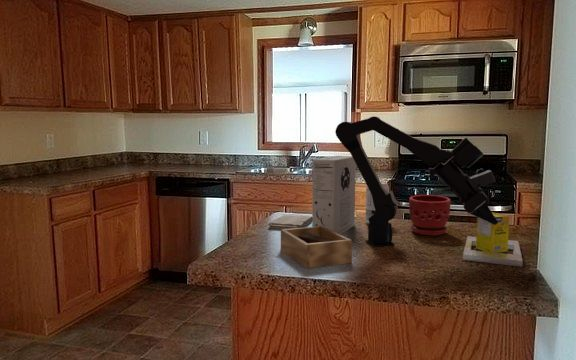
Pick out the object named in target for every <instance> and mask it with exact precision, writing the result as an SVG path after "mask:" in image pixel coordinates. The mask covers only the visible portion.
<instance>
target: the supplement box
mask: <svg viewBox="0 0 576 360" xmlns="http://www.w3.org/2000/svg"><path fill="white" fill-rule="evenodd" d="M491 212H492V214H493V215H494V217H495V218H496V220H497V221H498V223H497V224H496V225H494V224H492V223H490V222H488V221H485V220H483V219H481V218H479V217H476V235H475V237H476V246H475V251H485V252H494V253H504V254H508V250H509V249H508V240H509V231H510V229H509V228H510V215H506V214H501V213H499V212H498V213H497V212H493V211H491Z"/></svg>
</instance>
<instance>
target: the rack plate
mask: <svg viewBox="0 0 576 360" xmlns="http://www.w3.org/2000/svg"><path fill="white" fill-rule="evenodd" d="M465 241H466V242H465V246H464V249H463V255H462V261H468V262H477V263H478V262H479V263H487V264H494V265H495V264H497V265H503V266H504V265H505V266H511V267H512V266H514V267H523V262H524V261H523V257H522V256H523V255H522V251H521V247H520V243H519V241H518V240H511V239H508V250H512V252H513V254H512V253H507V254H504V253H494V252H485V251H476V249H475V250H474V249H472V247H476V236H470V235H469V236H467V237H466V240H465Z"/></svg>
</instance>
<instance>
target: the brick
mask: <svg viewBox="0 0 576 360" xmlns="http://www.w3.org/2000/svg"><path fill="white" fill-rule="evenodd" d="M299 239H301V240H303V241H305V242H306V243H308V244H309V243H319V242H329V241H332V240H330V239H326V238H322V237H318V236H315V235H311V234H305V235H301V236H299Z"/></svg>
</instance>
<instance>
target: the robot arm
mask: <svg viewBox="0 0 576 360" xmlns="http://www.w3.org/2000/svg"><path fill="white" fill-rule="evenodd" d="M371 131H374V132H375V133H378V134H379V135H382V136H383V137H385V138H387V139H388V140H390V141H392V142H394V143H395V144H396V145H397V144H398V145H399V146H401V147H403V148H405V149H406V150H408V151H409V152H410V153H412V155H414V156H415V157H416V158H417V159H418V160H420V161H421V162H422V163H424V164H425V165H426V166H427V165H428V166H434V165H436V166H435V167H433V168H432V167H429V168H428V171H429V175H428V177H429V179H432V178H434V176H437V178H439V180H441V181H442V182H443V183H444V185H445V186H446V187H448V189H449V190H450V191H451V193H453V194H454V195H455V196H456V197H457V198H458V199H459V201H460V202H461V203H462V204H463V205H462V206H463V209H464V210H465V211H466V212H467V213H468V214H470V215H472V216H474V217H476V218H477V217H479V218H481V219H483V220H485V221H488V222H490V223H492V224H494V225H496V224H497V223H498V221H497V220H496V218H495V217H494V215H493V214H492V212H493V211H492V210H491V209H490V207H489V202H490V201H489V197H488V196H487V195H486V194H485V192H484V191H483V189H482V188H481V187H483V186H486V185H489V184H494V183H496V182H497V181H496V179H495V176H494V174H493V172H492V170H490V169H488V170H485V169H483V168H480V169H477V170H476V174H474V175H472V176H469V175H468V174H466V173H464V171H462V169H463V168H471V166H472V165H474V164H475V162H478V160H479V159H480V158H482V157H483V156H484V153H483V152H482V150H480V148H478V147H477V146H476V144H475V145H474V144H473V143H472V142H471V141H470V140H469V139H468V138H467V137H464V138H463V139H462V140H461V141H460V142H459V143H458V145H456V146H455V147H454V148H453V149H451V150H449V149H442V148H440V147H439V146H438V145H436V144H433V143H431V142H428V141H425V140H421V139H418V138H415V137H413V136H412V135H409V134H408V133H406V132H404V131H402V130H400V129H399V128H396V127H395V126H393V125H391V124H390V123H388V122H386V121H384V120H382V119H381V118H380V117H379V116H370V117H369V118H364V119H362V120H357V121H354V122H351V121H342V122H340V123H338V125H337V126H336V128H335V131H334V133H335V136H336V138H337V139H338V140H339V141H340V143H341V145H342V146H343V147H344V148H345V149H346V150H347V151H348V153H350V156H352V157H353V159H354V161H355V163H356V166H357V167H356V168H357V169H358V171H359V173H360V175H361V176H362V178H363V181H364V183H365V185H366V186H368V188H369V190H370V192H371V195H372V199H373V204H374V207H375V212H374V213H373V214H372V215H371V216H370V218H369V223H368V224H367V229H368V230H367V233H368V234H367V239H365V241H364V242H366V243H368V244H370V245H372V246H374V247H383V246H384V247H385V246H391V245H392V246H393V245H395V242H393V232H394V231H393V227H392V223H391V222H390V221H391V220H393V219H394V218H395V217H396V215H397V212H398V204H399V201H398V200H397V199H396V197H395V194H394V191H393V190H389V193H388V192H387V191H386V190H385V189H384V188H383V186H382V184H381V182H382V181H381V179H379V176H378V174H377V173H376V170H375V168H374V166H373V164H372V162H371V161H370V159H369V156H368V155H367V153H366V151H365V148H363V147H364V146H363V143H362V138H361V135H362V134H365V133H369V132H371ZM443 160H447V161H445V163H443V162H441V161H443ZM453 161H455V162H456V164H458V165H456V164H455V163H454V162H453ZM458 166H460V167H458ZM460 168H462V169H460Z"/></svg>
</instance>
